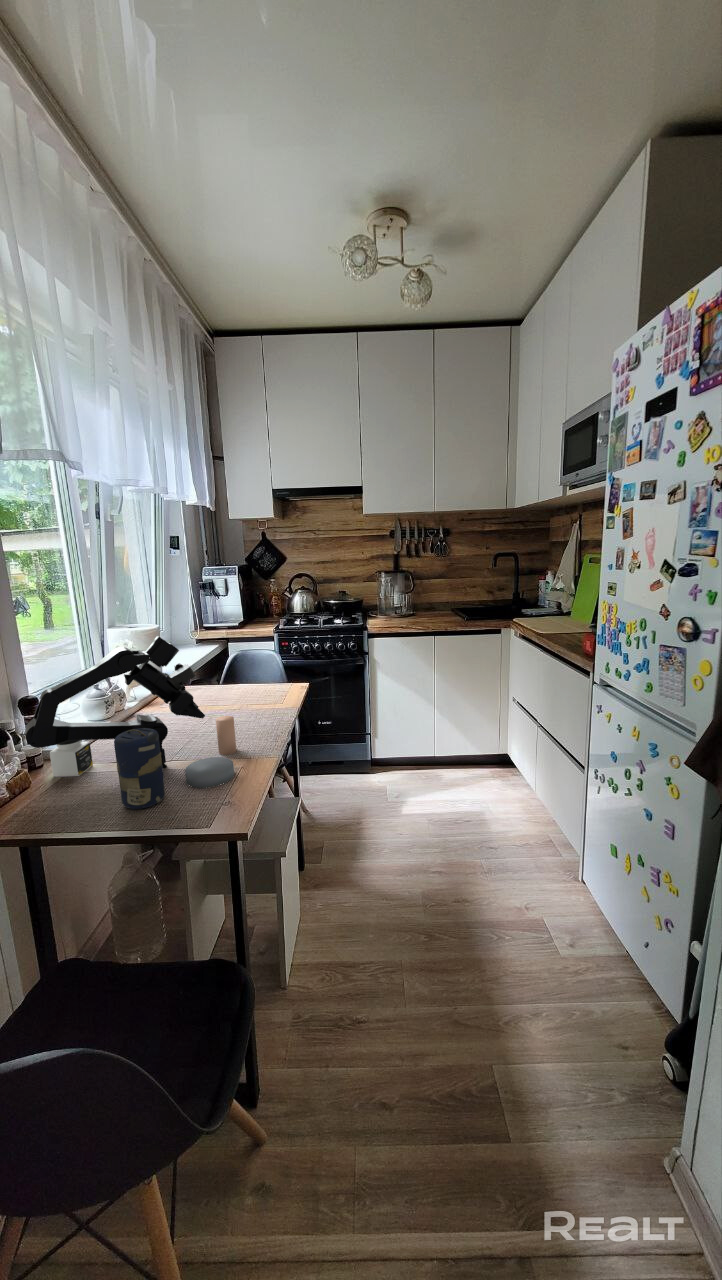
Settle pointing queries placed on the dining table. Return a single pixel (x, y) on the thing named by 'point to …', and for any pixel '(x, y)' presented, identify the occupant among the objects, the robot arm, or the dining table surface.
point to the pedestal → (209, 772)
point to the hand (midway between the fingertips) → (200, 712)
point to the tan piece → (226, 735)
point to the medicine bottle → (71, 758)
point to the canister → (139, 768)
